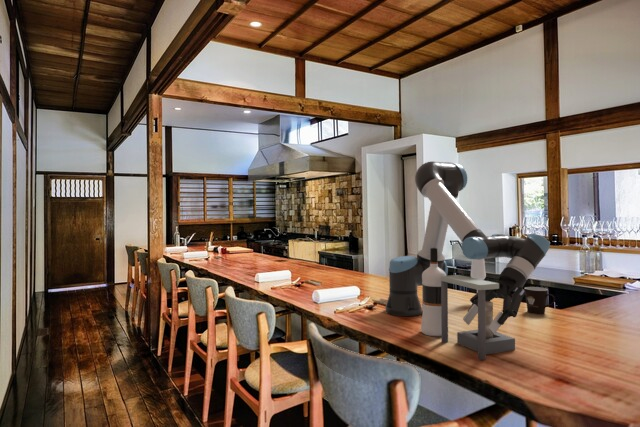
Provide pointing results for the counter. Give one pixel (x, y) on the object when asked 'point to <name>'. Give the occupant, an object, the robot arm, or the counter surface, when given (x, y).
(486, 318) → the peg
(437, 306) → the vodka
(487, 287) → the small grey bench
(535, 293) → the coffee mug
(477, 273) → the champagne flute
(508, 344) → the socket block
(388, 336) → the counter surface
